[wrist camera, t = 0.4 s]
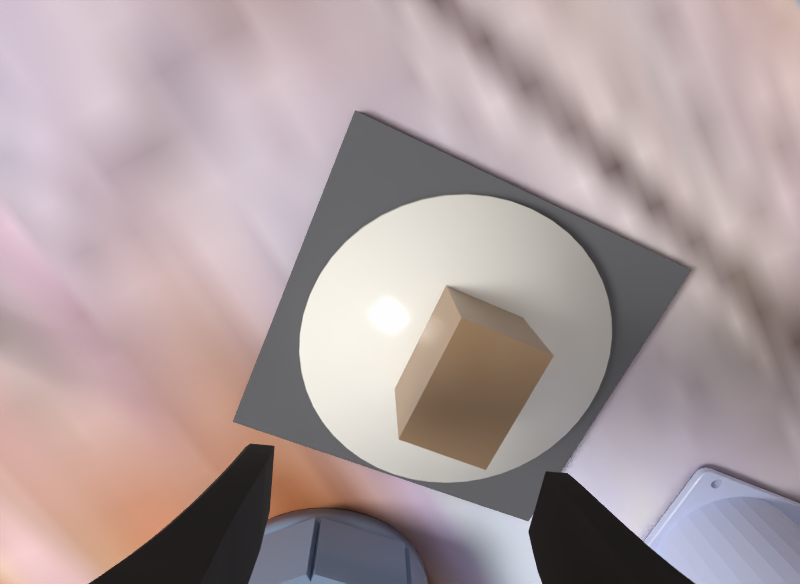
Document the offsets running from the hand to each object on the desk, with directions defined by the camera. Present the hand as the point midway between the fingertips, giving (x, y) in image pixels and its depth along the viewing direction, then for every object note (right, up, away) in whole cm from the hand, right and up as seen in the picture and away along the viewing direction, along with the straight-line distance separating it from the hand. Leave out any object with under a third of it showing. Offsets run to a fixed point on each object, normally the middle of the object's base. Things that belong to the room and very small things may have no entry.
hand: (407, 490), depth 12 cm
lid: (+2, +3, +8) cm, 9 cm away
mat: (+2, +3, +8) cm, 9 cm away
